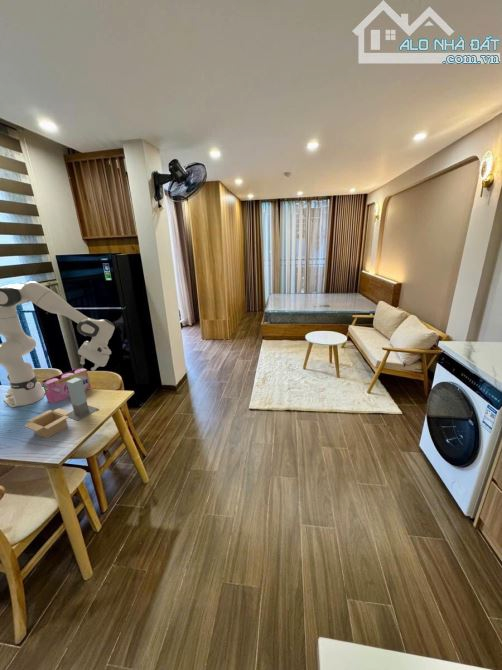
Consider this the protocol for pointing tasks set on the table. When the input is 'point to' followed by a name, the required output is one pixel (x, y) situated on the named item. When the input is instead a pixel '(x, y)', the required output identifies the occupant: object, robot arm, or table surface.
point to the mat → (79, 417)
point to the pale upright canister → (77, 396)
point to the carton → (49, 422)
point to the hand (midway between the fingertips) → (87, 367)
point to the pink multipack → (63, 384)
